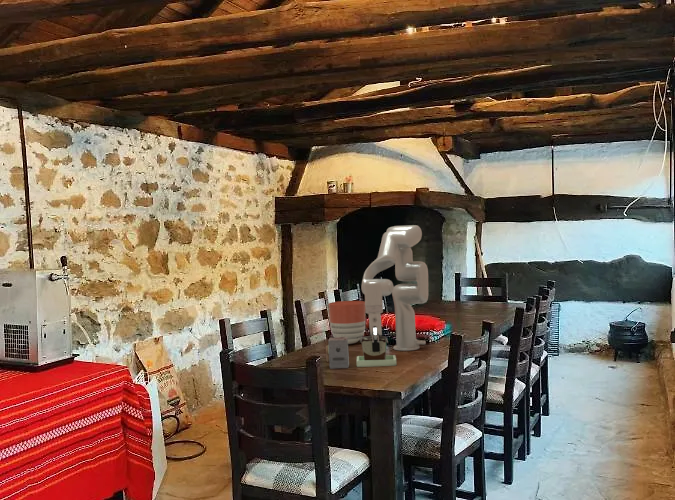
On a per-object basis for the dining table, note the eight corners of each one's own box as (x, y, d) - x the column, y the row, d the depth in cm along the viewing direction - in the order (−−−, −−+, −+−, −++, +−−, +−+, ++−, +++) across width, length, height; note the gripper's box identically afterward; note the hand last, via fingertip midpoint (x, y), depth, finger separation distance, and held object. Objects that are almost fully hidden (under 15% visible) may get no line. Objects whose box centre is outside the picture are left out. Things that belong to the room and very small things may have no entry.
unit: (349, 364, 268) (347, 336, 268) (348, 368, 259) (347, 340, 259) (330, 364, 268) (328, 337, 268) (328, 369, 260) (327, 340, 259)
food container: (391, 358, 267) (390, 335, 267) (388, 361, 262) (387, 338, 261) (365, 357, 271) (363, 335, 271) (361, 360, 266) (359, 337, 265)
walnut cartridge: (337, 359, 279) (337, 344, 278) (337, 362, 274) (336, 346, 273) (326, 360, 279) (326, 345, 279) (326, 362, 274) (325, 347, 274)
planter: (365, 339, 331) (364, 300, 330) (368, 345, 311) (366, 303, 311) (329, 341, 330) (328, 301, 330) (330, 347, 311) (328, 305, 310)
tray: (395, 360, 271) (395, 354, 271) (396, 365, 260) (396, 359, 260) (357, 361, 272) (356, 356, 272) (356, 367, 261) (356, 361, 261)
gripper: (383, 311, 257) (385, 353, 257) (382, 306, 274) (384, 346, 275) (365, 312, 257) (367, 354, 258) (365, 307, 275) (367, 346, 275)
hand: (376, 349), depth 266 cm, fingers closed on food container, 6 cm apart
